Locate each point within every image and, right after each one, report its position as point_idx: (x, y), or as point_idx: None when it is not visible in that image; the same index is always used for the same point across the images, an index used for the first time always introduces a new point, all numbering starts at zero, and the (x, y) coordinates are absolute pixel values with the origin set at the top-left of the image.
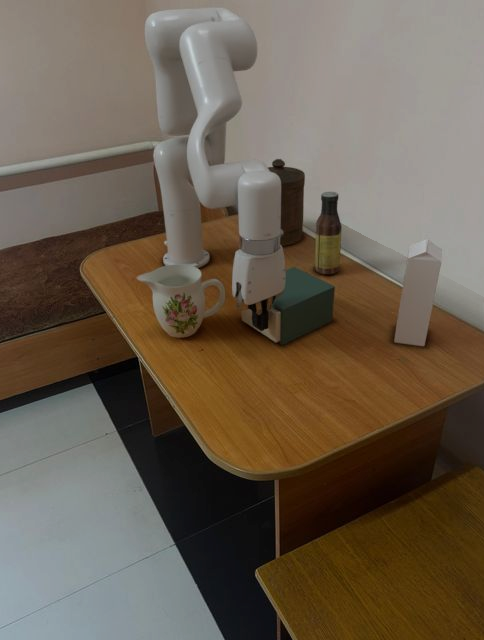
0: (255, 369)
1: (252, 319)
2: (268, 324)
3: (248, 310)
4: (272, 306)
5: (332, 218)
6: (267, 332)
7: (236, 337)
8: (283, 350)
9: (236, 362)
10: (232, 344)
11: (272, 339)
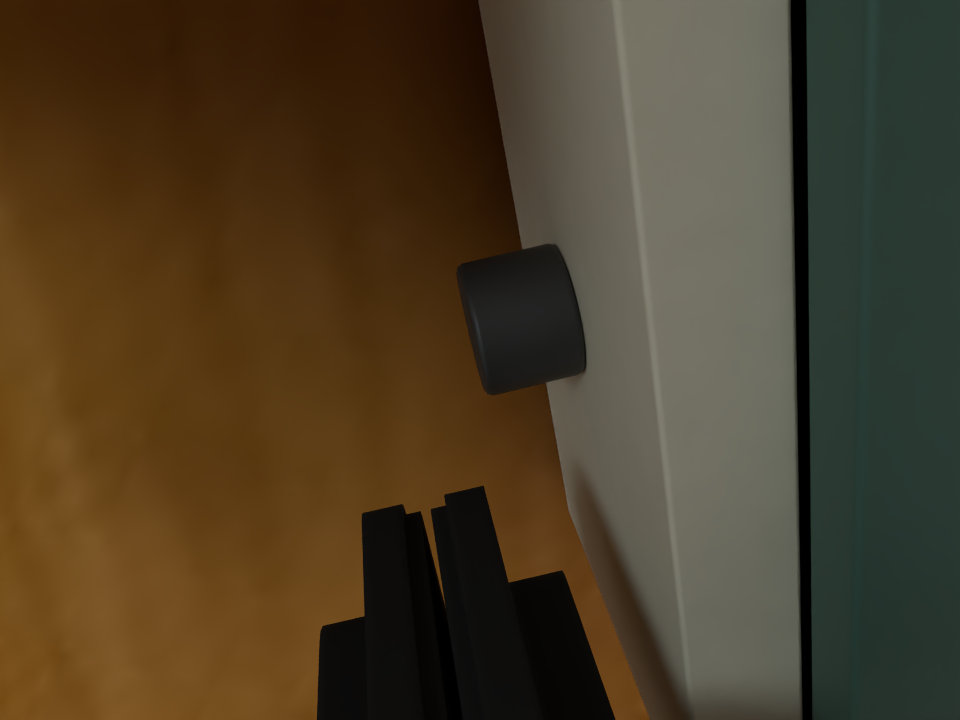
0: (201, 704)
1: (321, 696)
2: (599, 517)
3: (529, 21)
4: (813, 699)
5: None
6: (561, 422)
7: (211, 126)
8: (582, 559)
9: (49, 570)
10: (103, 256)
11: (563, 468)
